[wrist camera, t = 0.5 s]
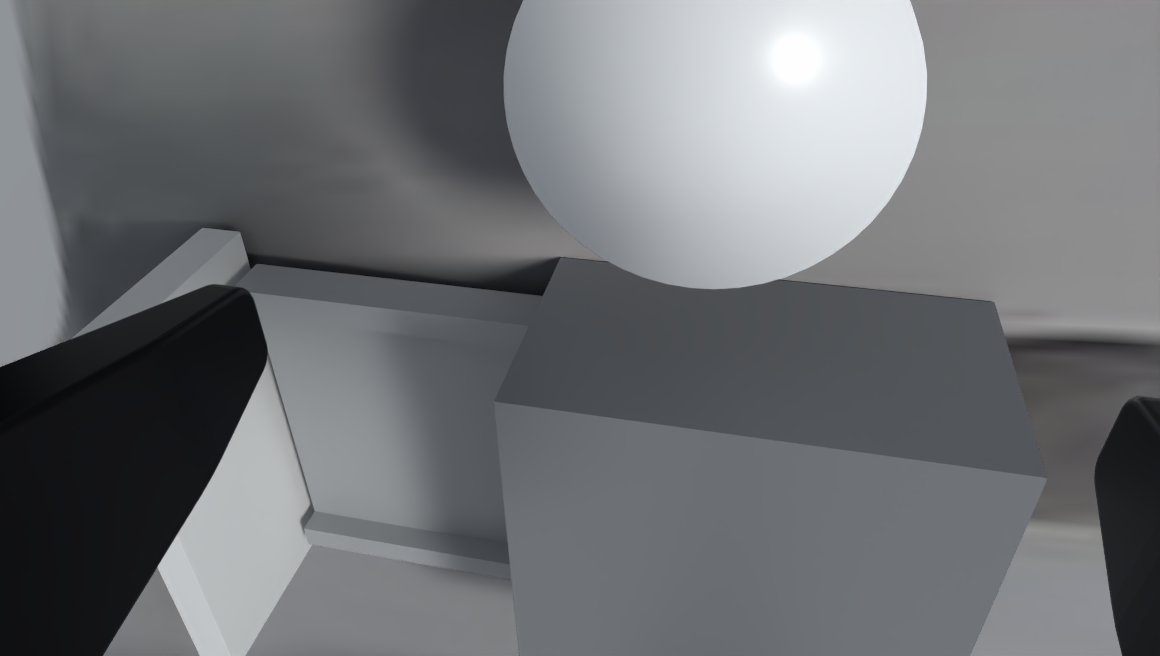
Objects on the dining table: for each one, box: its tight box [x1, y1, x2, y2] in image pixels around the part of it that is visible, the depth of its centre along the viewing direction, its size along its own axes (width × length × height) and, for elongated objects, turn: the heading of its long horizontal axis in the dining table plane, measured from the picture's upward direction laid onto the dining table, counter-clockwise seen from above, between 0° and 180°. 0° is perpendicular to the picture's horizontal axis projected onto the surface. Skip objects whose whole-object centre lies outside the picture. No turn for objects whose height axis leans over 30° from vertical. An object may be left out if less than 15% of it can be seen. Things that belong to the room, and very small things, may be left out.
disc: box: [504, 0, 927, 289], centre depth 15 cm, size 7×7×2 cm
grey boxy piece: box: [71, 228, 542, 656], centre depth 25 cm, size 12×11×6 cm
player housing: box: [494, 258, 1048, 656], centre depth 23 cm, size 12×11×6 cm
